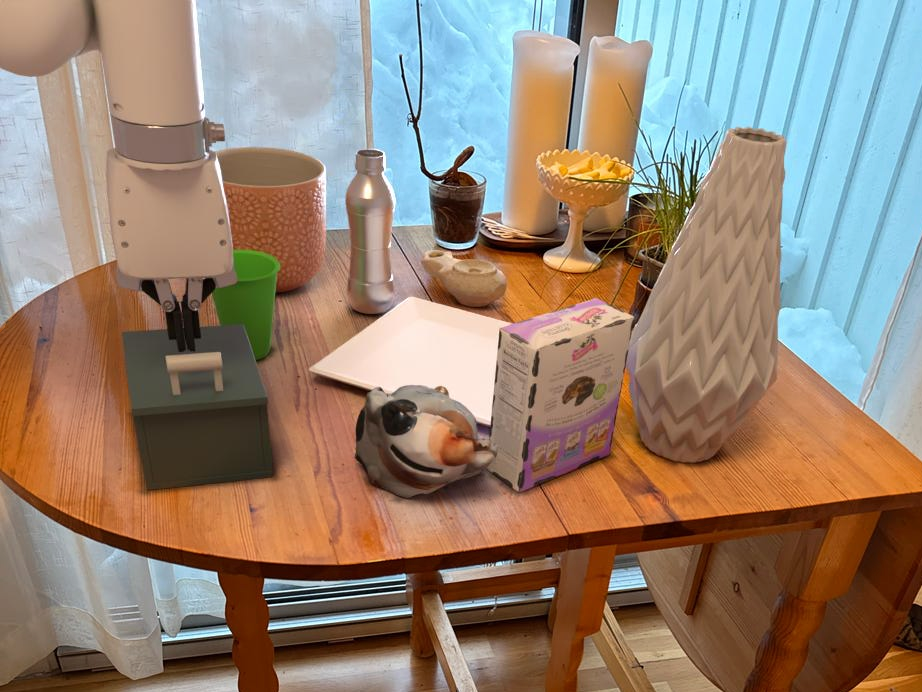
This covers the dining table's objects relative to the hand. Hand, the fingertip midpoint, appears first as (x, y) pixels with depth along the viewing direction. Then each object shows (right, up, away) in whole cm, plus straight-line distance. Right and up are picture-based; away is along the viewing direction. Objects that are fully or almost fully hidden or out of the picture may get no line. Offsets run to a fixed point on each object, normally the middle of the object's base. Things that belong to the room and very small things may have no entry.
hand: (185, 345), depth 92 cm
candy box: (+36, -9, +14) cm, 40 cm away
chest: (-2, -7, +11) cm, 13 cm away
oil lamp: (+26, +21, +46) cm, 56 cm away
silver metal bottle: (+13, +17, +40) cm, 45 cm away
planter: (-2, +23, +44) cm, 50 cm away
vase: (+52, -6, +19) cm, 55 cm away
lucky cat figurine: (+23, -11, +10) cm, 27 cm away
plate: (+25, +5, +28) cm, 38 cm away
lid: (-1, -1, +5) cm, 5 cm away
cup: (-1, +8, +28) cm, 29 cm away
